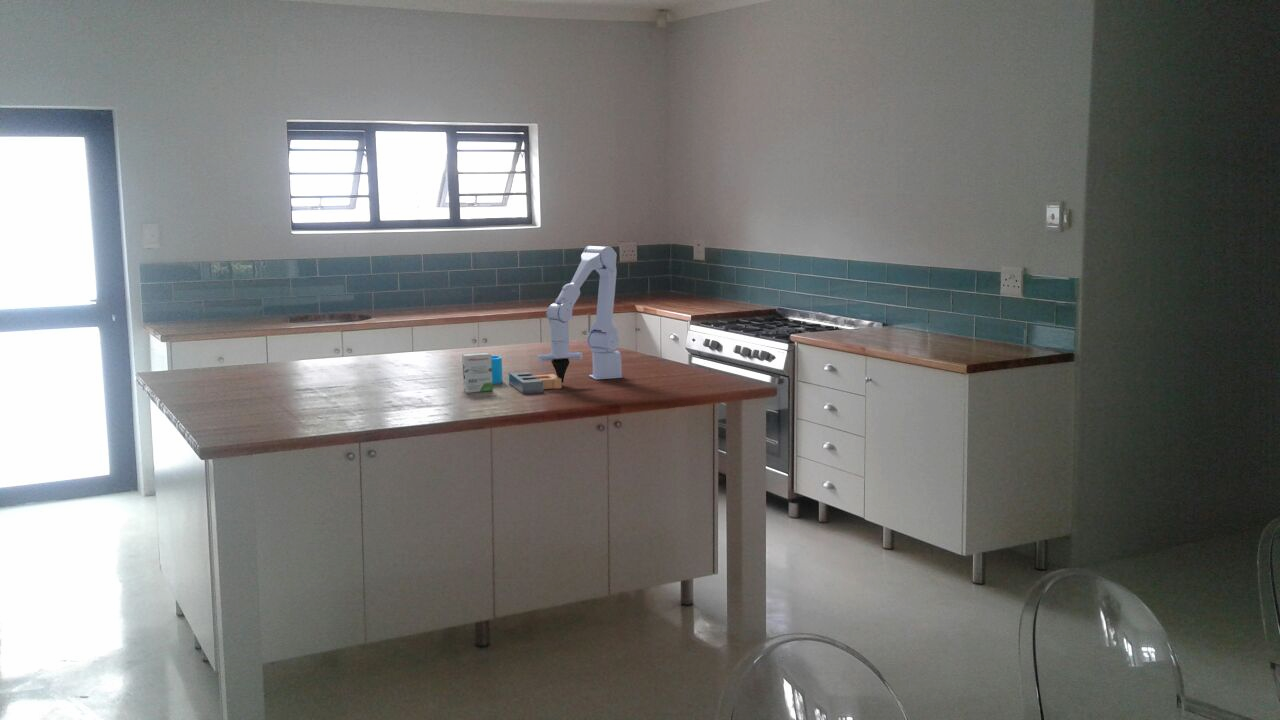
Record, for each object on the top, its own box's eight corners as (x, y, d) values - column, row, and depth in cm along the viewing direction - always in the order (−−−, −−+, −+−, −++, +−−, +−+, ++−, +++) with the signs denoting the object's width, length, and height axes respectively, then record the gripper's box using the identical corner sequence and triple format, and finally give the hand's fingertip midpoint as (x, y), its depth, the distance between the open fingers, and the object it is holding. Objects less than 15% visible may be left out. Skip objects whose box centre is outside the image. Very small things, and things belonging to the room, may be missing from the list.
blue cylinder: (504, 383, 372) (503, 358, 371) (479, 384, 370) (478, 360, 369) (499, 377, 384) (498, 353, 383) (475, 378, 382) (474, 354, 381)
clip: (553, 383, 371) (553, 374, 370) (561, 388, 361) (561, 378, 361) (531, 384, 368) (531, 375, 368) (538, 389, 359) (538, 380, 359)
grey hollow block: (528, 382, 373) (528, 371, 373) (543, 392, 354) (542, 381, 354) (509, 383, 371) (508, 373, 371) (522, 393, 352) (522, 382, 352)
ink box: (489, 388, 363) (488, 352, 361) (493, 390, 358) (492, 354, 356) (463, 390, 360) (461, 353, 358) (466, 393, 355) (464, 355, 353)
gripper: (578, 337, 370) (579, 378, 372) (534, 340, 366) (536, 381, 368) (584, 340, 364) (584, 382, 366) (540, 342, 359) (541, 385, 361)
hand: (560, 382), depth 366 cm, fingers closed
